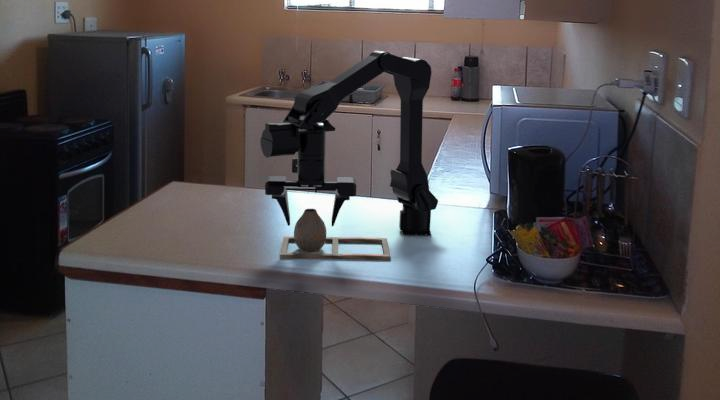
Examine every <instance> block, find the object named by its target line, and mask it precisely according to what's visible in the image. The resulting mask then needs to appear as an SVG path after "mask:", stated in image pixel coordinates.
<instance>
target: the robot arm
mask: <svg viewBox="0 0 720 400" xmlns="http://www.w3.org/2000/svg"><path fill="white" fill-rule="evenodd" d="M432 72H433V71H432V66H431V64H429V62H428V61H426V60H425V59H420V58H414V57H407V56H403V57H401V56H398V55H395V54H391V53H390V52H389V51H382V50H374V51H372V52H371V53H369V55H368V56H367V57H365V58H363V59H362V60H361V61H359V62H357V63H356V64H354V65H353V66H351V67H350V68H348V69H347V70H345V71H343V72H342V73H341V74H339V75H338V76H336V77H334V78H333V79H332V80H331V79H330V81H327V82H325V83H322V84H319V85H314V86H312V87H309V88H307V89H305V90H302V91H300V92H298V93H297V94H296V96H295V97H294V101H293V105H292V107H291V108H290V110H289V111H288V113H286V116H285V117H284V119H283V122H276V123H275V122H266V123H265V124H264V125H265V126H264V129H263V131H262V133H261V137H260V149H261V151H262V154H263V156H264V157H265V158H279V157H288V156H294V155H296V153H297V158H295V157H294V158H291V159H292V160H291V173H292V174H293V175H294V174H295V175H296V174H297V180H287V178H286V175H269V176H268V177H267V178H266V180H265V187H264V191H265V192H264V195H266V196H271V199H272V200H276V201H277V203H278V205H279V207H280V208H281V211H282V214H283V216H284V219H285V221H286V225H287V226H289V227H290V226H291V214H290V205H289V196H288V195H289V194H288V191H317V192H318V191H319V192H320V191H321V192H323V191H324V192H327V191H329V192H333V191H334V192H335V193H334V200H333V208H332V214H331V227H334V226H335V223H336V221H337V218H338V215H339V213H340V209H341V208H342V206H343V204H344V203H345V201H350V200H351V199H350V198H351V197H356V196H357V182H356V179H355V178H354V177H352V176H351V177H348V176H347V177H344V176H342V177H341V176H339V177H337V178H336V180H337V181H326V140H327V139H326V134H327V133H326V132H335V131H336V127H335V126H333V125H332V124H331V123H330V120H329V119H328V118H329V117H330V116H331V115H332V114H333V113H334V112H335V111H336V110H337V109H338V107H339V105H340V104H341V102H342V101H343V100H345V99H346V98H348V97H349V96H350V95H352V94H354V93H355V92H356V91H357V90H360V89H361V88H363V87H364V86H365V85H367V84H368V83H370V82H371V81H373V80H374V79H375V78H377V77H378V76H380V75H383V73H386V74H387V75H388V74H389V75H392V76H393V81H394V87H395V89H396V92H397V94H398V96H399V99H400V118H399V119H400V123H399V124H400V128H399V129H400V130H399V131H400V132H399V133H400V134H399V135H400V136H399V138H400V140H399V141H400V143H399V147H400V148H399V149H400V150H399V152H400V153H399V163H398V165H397V167H396V169H391V170H390V184H389V187H390V188H391V189H392V193H393V194H394V195H395V196H396V199H397V202H398V203H400V204H402V209H401V210H400V211H399V222H398V224H399V226H398V227H399V230H400V231H401V234H402V235H403V236H432V232H431V219H432V217H431V216H432V211H433V210H436V209H437V207H438V206H437V205H438V203H439V199H438V198H437V197H436V196H435V195H434V193H432V192H431V190H430V187H429V186H430V183H429V177H428V174H427V172H426V169H425V167H424V165H423V122H424V121H423V117H424V115H423V110H424V98H425V96H426V95H427V93H428V91H429V89H430V86H431V85H430V84H431V79H432Z"/></svg>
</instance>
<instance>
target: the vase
mask: <svg viewBox="0 0 720 400" xmlns="http://www.w3.org/2000/svg"><path fill="white" fill-rule="evenodd" d="M293 228H294V229H293V237H294V239H295V242H294V243H295V245H296V247H297V248H298V249H299V250H300V251H302V252H303V253H317V252H319V251H320V250H321V249H322V248H323V247H324V245H325V243H326V242H325V241H326V237H327V227H326V225H325V221H324V220H323V219H322V218H321V216H320V215H319V213H318V210H317V209H315V208H305V209H304V211H303V213H302V215H301V216H300V217H299V218H298V219H297V220H296V223H295V225H294V227H293Z"/></svg>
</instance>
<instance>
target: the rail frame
mask: <svg viewBox="0 0 720 400" xmlns="http://www.w3.org/2000/svg"><path fill="white" fill-rule="evenodd" d="M289 242H291V243H293V242H294V243H295V239H294V236H283V237H282V242H281V248H280V253H279V259H294V260H295V259H296V260H297V259H301V260H302V259H303V260H305V259H306V260H309V259H310V260H359V261H360V260H361V261H362V260H365V261H366V260H367V261H374V260H375V261H391V260H392V259H391V251H390V247H389V243H388V242H389V241H388V238H387V237H361V236H360V237H354V236H353V237H351V236H350V237H349V236H348V237H347V236H345V237H344V236H342V237H341V236H340V237H339V236H335V237H333V236H326V241H325V243H332V253H321V252H319V253H318V252H288V248H289ZM339 243H345V244H346V243H348V244H349V243H350V244H353V243H355V244H381V247H382V252H383V254H382V253H339Z"/></svg>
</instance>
